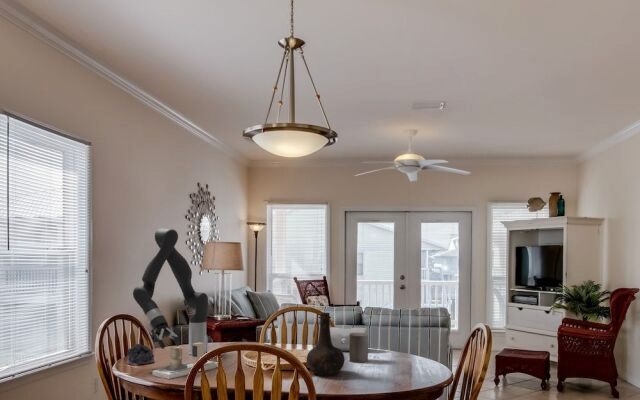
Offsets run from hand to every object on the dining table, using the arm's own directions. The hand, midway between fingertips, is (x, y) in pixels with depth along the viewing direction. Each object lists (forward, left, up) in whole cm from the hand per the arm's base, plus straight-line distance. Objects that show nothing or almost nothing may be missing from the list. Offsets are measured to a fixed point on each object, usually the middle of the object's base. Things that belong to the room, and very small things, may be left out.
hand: (171, 346), depth 274 cm
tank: (-90, +37, -12) cm, 98 cm away
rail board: (-6, +4, -12) cm, 14 cm away
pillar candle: (-74, +57, -12) cm, 94 cm away
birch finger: (+1, +4, -10) cm, 11 cm away
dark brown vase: (-42, +60, -12) cm, 74 cm away
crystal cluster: (-3, -30, -12) cm, 32 cm away
